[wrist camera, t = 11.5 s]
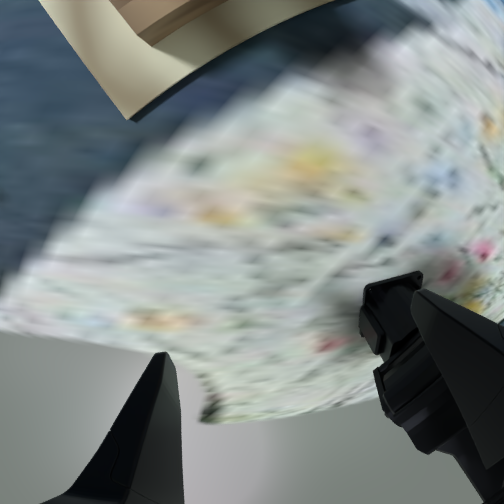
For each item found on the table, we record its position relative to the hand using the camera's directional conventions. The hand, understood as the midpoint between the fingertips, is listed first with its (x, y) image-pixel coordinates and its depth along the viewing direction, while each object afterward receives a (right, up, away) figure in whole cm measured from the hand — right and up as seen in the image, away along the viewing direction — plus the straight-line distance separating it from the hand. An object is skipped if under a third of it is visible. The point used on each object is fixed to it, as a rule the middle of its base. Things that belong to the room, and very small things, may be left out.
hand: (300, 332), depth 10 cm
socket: (-6, +22, +2) cm, 23 cm away
